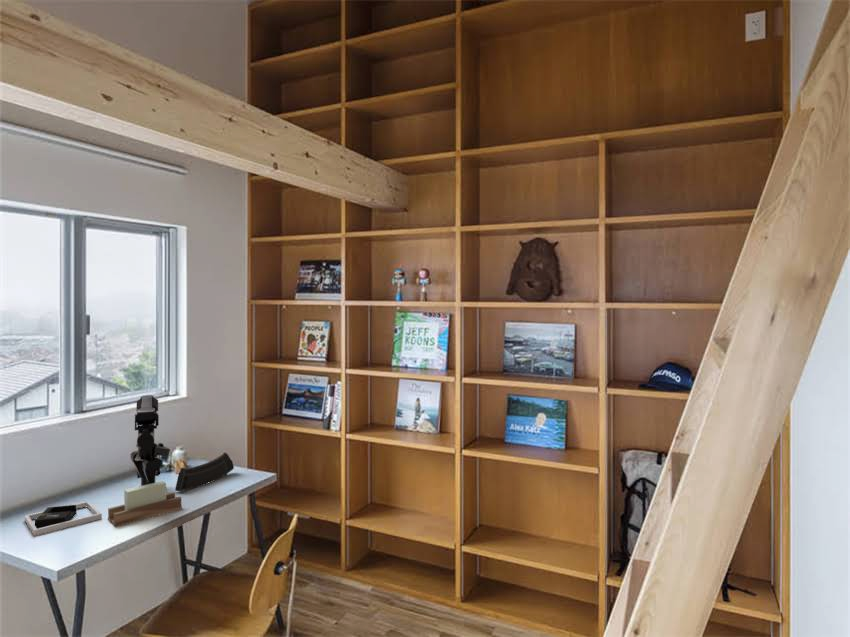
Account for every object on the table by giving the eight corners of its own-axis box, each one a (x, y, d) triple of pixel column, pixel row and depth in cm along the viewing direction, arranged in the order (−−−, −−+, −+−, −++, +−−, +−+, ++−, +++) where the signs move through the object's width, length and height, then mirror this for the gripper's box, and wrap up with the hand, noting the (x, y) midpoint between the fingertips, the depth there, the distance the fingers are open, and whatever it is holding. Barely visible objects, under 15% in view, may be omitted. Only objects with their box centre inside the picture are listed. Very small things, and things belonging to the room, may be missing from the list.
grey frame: (24, 520, 198) (24, 515, 197) (88, 505, 213) (88, 500, 213) (34, 536, 185) (34, 530, 185) (101, 518, 200) (101, 513, 200)
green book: (124, 515, 201) (124, 489, 201) (162, 505, 211) (162, 481, 211) (127, 518, 199) (127, 492, 198) (166, 507, 209) (166, 483, 208)
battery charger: (65, 528, 193) (65, 517, 192) (34, 531, 190) (34, 520, 189) (76, 514, 205) (76, 504, 205) (47, 517, 202) (47, 507, 202)
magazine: (174, 475, 224) (227, 439, 249) (169, 474, 225) (222, 439, 251) (185, 509, 229) (235, 470, 254) (179, 507, 230) (230, 469, 256)
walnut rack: (107, 519, 199) (107, 508, 199) (173, 502, 217) (173, 492, 217) (115, 526, 193) (115, 514, 193) (181, 508, 210) (181, 497, 210)
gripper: (176, 442, 205) (176, 481, 206) (159, 433, 218) (159, 470, 219) (146, 448, 197) (146, 488, 198) (130, 438, 210) (130, 476, 211)
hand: (146, 480), depth 207 cm, fingers open, 9 cm apart
